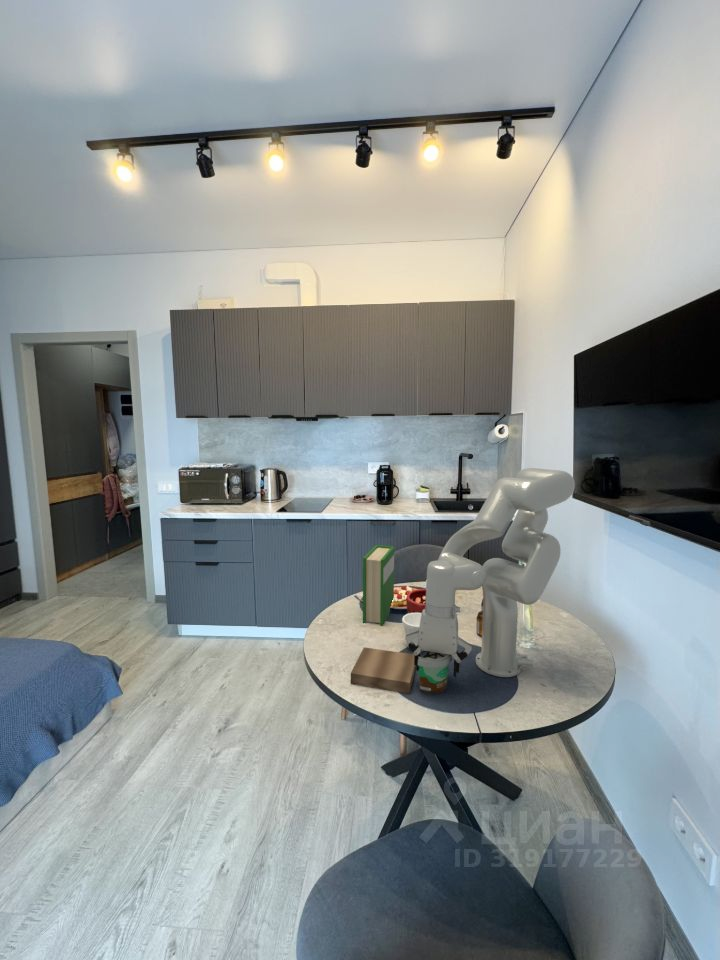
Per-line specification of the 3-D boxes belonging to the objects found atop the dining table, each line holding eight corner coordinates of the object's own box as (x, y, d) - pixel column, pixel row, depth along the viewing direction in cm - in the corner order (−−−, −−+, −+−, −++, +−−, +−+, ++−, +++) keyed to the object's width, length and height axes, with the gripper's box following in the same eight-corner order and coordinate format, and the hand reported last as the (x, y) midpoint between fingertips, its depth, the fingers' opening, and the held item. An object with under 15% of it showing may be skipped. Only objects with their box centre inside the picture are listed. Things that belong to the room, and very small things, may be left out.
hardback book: (382, 626, 143) (383, 559, 140) (362, 623, 145) (363, 557, 143) (393, 606, 160) (394, 546, 157) (375, 603, 162) (375, 545, 159)
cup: (424, 637, 135) (425, 610, 134) (439, 652, 126) (439, 623, 125) (396, 641, 132) (397, 614, 131) (409, 657, 123) (410, 628, 122)
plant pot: (404, 620, 148) (405, 588, 146) (441, 620, 147) (441, 588, 146) (407, 637, 135) (408, 603, 134) (447, 638, 134) (448, 603, 133)
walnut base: (416, 664, 119) (416, 654, 119) (409, 693, 106) (409, 682, 105) (363, 656, 123) (363, 647, 123) (350, 683, 110) (350, 673, 109)
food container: (438, 703, 102) (439, 665, 101) (416, 694, 106) (417, 657, 104) (458, 680, 112) (459, 645, 110) (438, 672, 115) (439, 638, 114)
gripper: (473, 607, 107) (470, 669, 109) (408, 599, 112) (406, 658, 113) (474, 619, 100) (470, 685, 102) (404, 609, 105) (401, 672, 106)
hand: (436, 671), depth 108 cm, fingers open, 9 cm apart
